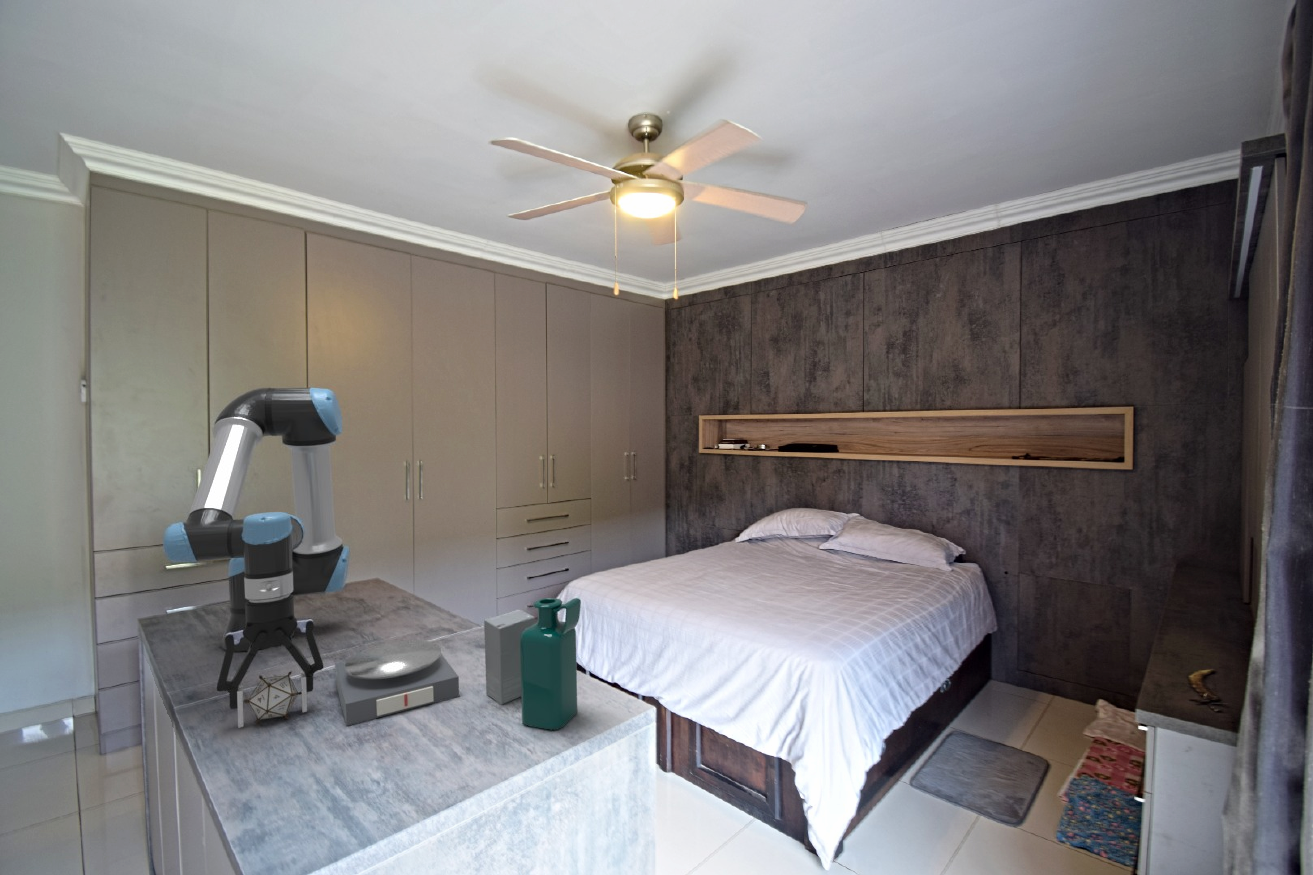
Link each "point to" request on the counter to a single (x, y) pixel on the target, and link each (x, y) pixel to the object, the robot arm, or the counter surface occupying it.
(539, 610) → the pitcher
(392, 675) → the pan
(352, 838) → the counter surface
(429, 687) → the scale
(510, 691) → the skincare box
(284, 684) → the game die
